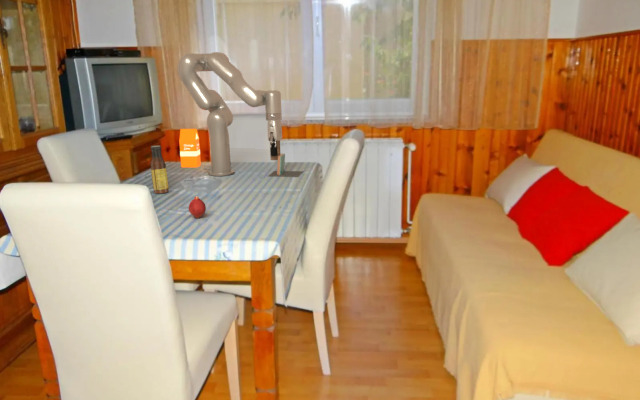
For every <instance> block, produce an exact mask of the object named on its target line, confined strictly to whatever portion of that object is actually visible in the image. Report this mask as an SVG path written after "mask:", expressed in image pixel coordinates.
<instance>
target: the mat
mask: <svg viewBox="0 0 640 400" xmlns="http://www.w3.org/2000/svg"><path fill="white" fill-rule="evenodd" d="M303 173H304V170H294V171H293V170H284V172H283V173H282V174H281V175H277V170H274V171H272V172H271V173H270V174H269V175H268V177H275V178H278V177H279V178H282V177H283V178H299V177H300V176H301V175H302V174H303Z"/></svg>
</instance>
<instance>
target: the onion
mask: <svg viewBox="0 0 640 400" xmlns="http://www.w3.org/2000/svg"><path fill="white" fill-rule="evenodd" d="M206 208H207V207H206V203H205V202H204V201H203V200H202V199H201V198H199V196H197V195H195V196H194V197H193V199H192V200H191V201H190V203H189V205H188V211H189V213H190V214H191V215H192V216H193V217H195V218H196V219H200V218H201V217H202V216H203V215H204V214H205V212H206V210H207V209H206Z"/></svg>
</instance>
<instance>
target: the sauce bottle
mask: <svg viewBox="0 0 640 400" xmlns="http://www.w3.org/2000/svg"><path fill="white" fill-rule="evenodd" d="M150 150H151V160H150V173H151V181H152V189H153V193H154V194H158V195H159V194H160V195H161V194H166V193H168V192H169V191H170V190H169V180H168V179H169V178H168V171H167V164H166V163H165V160H164V158H163V155H162V146H161V145H151V146H150Z"/></svg>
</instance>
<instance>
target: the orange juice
mask: <svg viewBox="0 0 640 400" xmlns="http://www.w3.org/2000/svg"><path fill="white" fill-rule="evenodd" d="M179 130H180V131H179V140H178V142H179V143H178V144H179V156H180V166H181V168H199V167H200V166H201V165H202V163H201V146H200V145H201V144H200V137H199V133H198V129H197V128H180V129H179Z"/></svg>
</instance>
